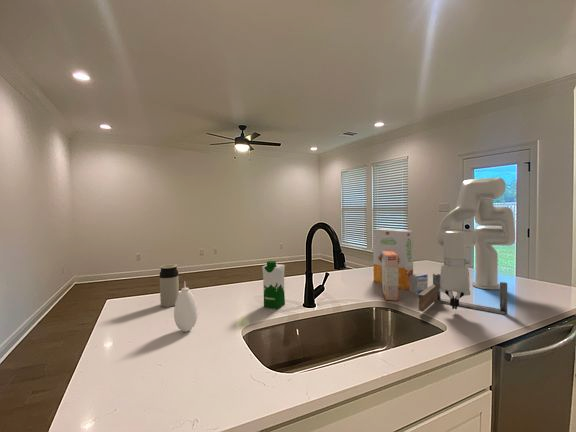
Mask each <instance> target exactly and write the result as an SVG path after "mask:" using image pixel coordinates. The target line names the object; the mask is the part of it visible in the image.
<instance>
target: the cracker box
mask: <svg viewBox="0 0 576 432" xmlns="http://www.w3.org/2000/svg"><path fill="white" fill-rule="evenodd" d="M381 285H382V286H381V291H382V294H383V297H384V299H385V301H393V302H394V301H395V302H396V301H397V302H398V301H399V288H398V255H397V254H396V253H394V252H393V251H382V283H381Z"/></svg>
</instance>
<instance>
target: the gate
mask: <svg viewBox="0 0 576 432" xmlns="http://www.w3.org/2000/svg"><path fill="white" fill-rule="evenodd" d="M437 287H438V285H437V284H433V283H432V284H430V286H429V285H428V288H427V289H425V290H424V291H422V292H421V293H419V294H417V297H418V311H419V312H425V310H427V309H429V307H430V306H431V305H433V303H436V302H435V301H436V300H437Z"/></svg>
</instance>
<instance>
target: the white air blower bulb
mask: <svg viewBox="0 0 576 432" xmlns="http://www.w3.org/2000/svg"><path fill="white" fill-rule="evenodd" d="M186 284H187V283H186V281H184V284H183V287H182V288H181V290H180V291H179V295H178V297H177V300H176V303H175V306H173V308H174V309H173V319H174V322H175V325H176V327H177V329H179V330H180V331H182V332H185V333H186V332H189V331H191V330H192V329H193V328H194V327H195V325H196V323H197V320H198V317H199V316H198V315H199V313H198V304H197V301H196V298H195V296H194V295H193V293H192V292H191V291H190V288H189V287H187V286H186Z"/></svg>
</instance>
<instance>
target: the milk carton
mask: <svg viewBox="0 0 576 432" xmlns="http://www.w3.org/2000/svg"><path fill="white" fill-rule="evenodd" d="M285 267H286V265H285V264H282V263H281V264H277V262H276V260H270V261H269V260H268V261H266V264H265V265H263V266H261V270H262V277H263V278H262V281H263V285H262V286H263V308H266V307H270V308H269V309H273V308H276V309H275V310H279V309H280V308H281V306H282V305H283V306H284V305H285V304H286V302H285V301H286V297H285V296H286V295H285V270H286V269H285ZM283 306H282V307H283ZM278 308H279V309H278Z"/></svg>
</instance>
